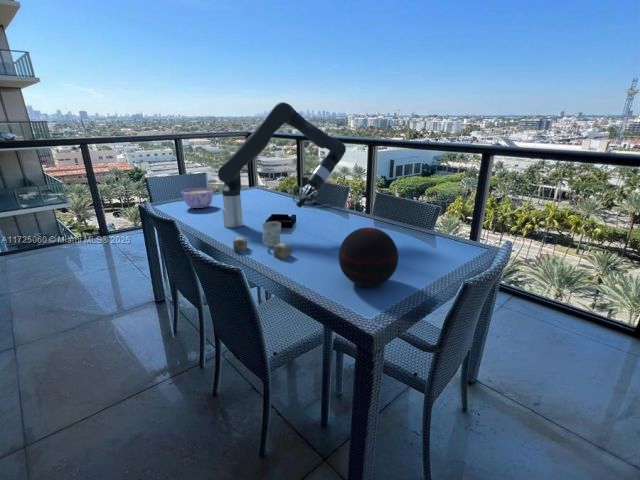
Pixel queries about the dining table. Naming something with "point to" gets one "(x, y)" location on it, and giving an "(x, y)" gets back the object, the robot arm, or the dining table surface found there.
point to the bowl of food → (198, 197)
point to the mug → (271, 233)
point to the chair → (304, 183)
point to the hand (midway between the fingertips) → (298, 206)
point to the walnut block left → (240, 244)
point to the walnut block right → (282, 250)
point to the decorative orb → (368, 257)
